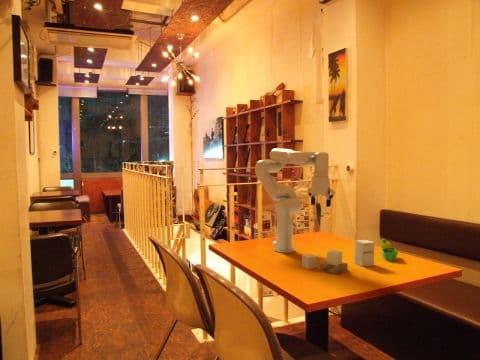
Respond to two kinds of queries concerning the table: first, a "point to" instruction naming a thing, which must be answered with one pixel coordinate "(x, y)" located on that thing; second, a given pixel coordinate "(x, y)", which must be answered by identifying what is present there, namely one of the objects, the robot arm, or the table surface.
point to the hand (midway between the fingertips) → (320, 205)
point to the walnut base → (333, 268)
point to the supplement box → (364, 252)
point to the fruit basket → (388, 250)
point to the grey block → (309, 261)
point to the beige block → (334, 257)
